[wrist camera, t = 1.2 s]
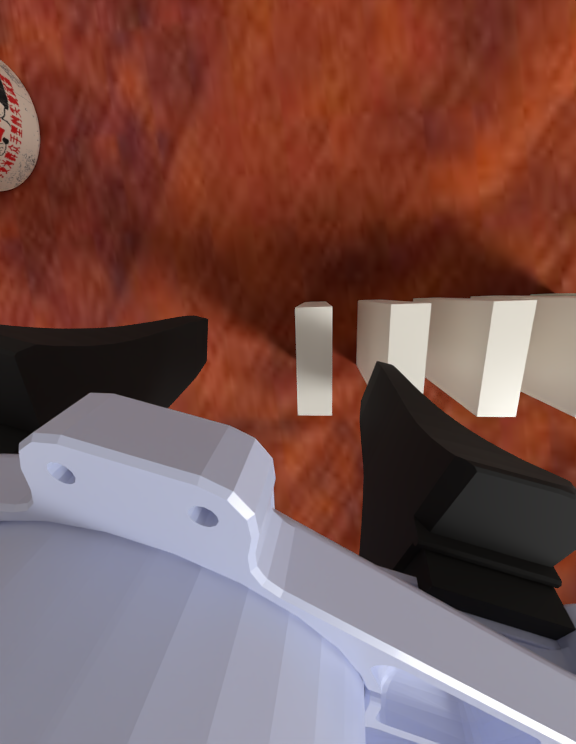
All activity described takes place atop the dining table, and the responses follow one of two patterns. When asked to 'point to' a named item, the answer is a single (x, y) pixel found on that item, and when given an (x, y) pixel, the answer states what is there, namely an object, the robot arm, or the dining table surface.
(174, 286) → the dining table surface
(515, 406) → the domino
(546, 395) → the domino
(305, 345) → the domino
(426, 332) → the domino
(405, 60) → the dining table surface
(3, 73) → the teacup with lid
